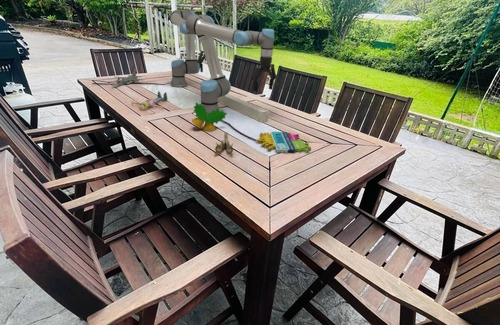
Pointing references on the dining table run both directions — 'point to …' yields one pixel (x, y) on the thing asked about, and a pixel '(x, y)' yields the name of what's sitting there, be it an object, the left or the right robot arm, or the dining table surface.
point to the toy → (152, 102)
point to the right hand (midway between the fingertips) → (263, 90)
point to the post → (244, 107)
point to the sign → (283, 142)
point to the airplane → (127, 79)
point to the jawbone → (224, 145)
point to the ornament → (207, 117)
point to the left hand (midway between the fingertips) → (208, 71)
